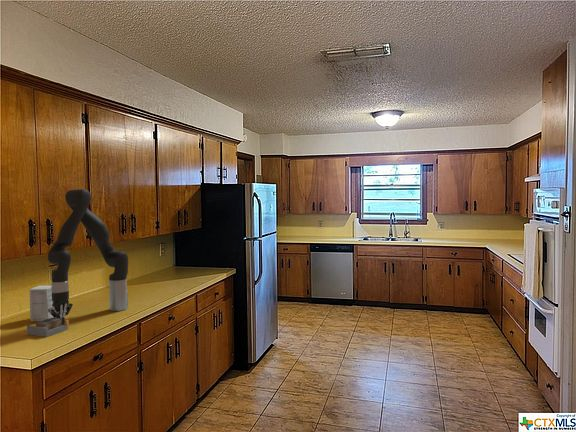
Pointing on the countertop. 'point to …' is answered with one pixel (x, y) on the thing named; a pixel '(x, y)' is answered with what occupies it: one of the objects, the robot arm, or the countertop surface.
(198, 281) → the countertop surface
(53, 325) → the grey block
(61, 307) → the robot arm
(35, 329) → the bay
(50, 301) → the supplement box
